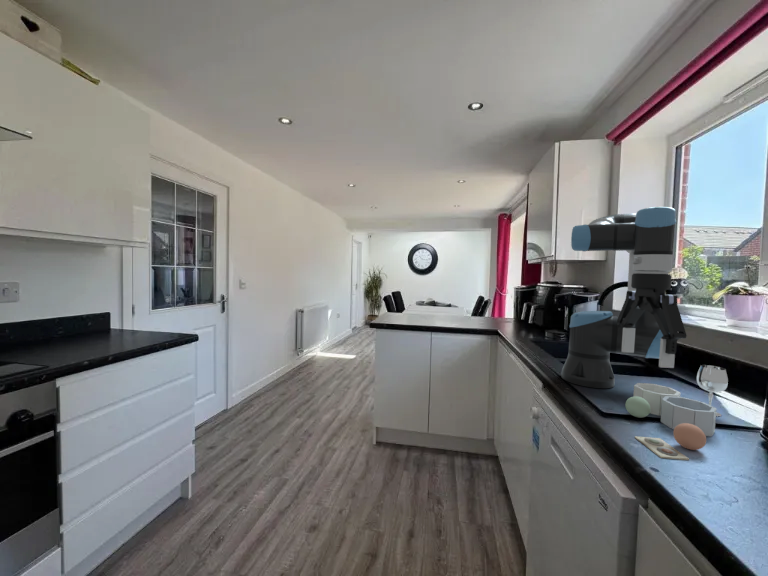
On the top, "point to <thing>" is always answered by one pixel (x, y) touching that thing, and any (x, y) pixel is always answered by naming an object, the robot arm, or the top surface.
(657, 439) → the card
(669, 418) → the grey octagonal bowl
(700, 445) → the terracotta ball
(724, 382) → the wineglass
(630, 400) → the sage ball
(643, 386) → the white octagonal bowl
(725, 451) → the top surface
